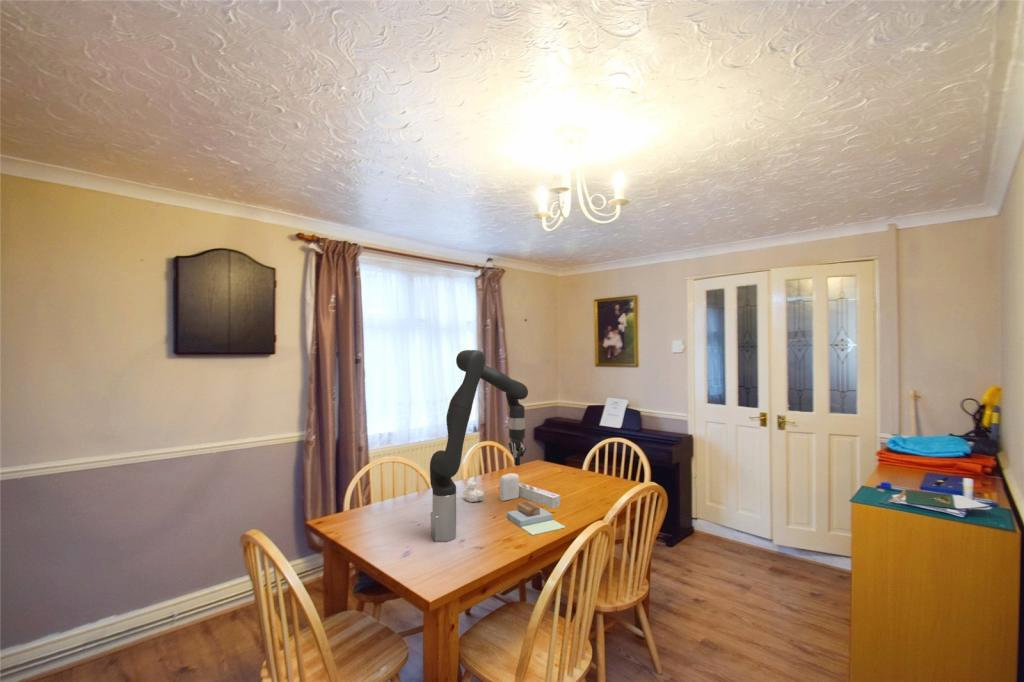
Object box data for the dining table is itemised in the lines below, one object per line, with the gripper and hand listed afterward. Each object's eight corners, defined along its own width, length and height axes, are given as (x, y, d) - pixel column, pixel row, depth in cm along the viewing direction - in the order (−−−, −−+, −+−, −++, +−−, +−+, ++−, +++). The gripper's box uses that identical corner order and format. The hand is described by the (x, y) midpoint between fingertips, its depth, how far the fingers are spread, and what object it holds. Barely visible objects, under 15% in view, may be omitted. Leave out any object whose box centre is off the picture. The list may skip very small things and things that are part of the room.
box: (560, 506, 207) (560, 494, 207) (553, 509, 204) (553, 496, 204) (520, 493, 227) (520, 482, 228) (513, 495, 224) (513, 484, 224)
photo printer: (515, 495, 222) (515, 471, 223) (520, 498, 219) (520, 473, 219) (498, 499, 217) (498, 474, 217) (502, 502, 213) (502, 476, 213)
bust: (462, 503, 217) (454, 489, 212) (469, 491, 223) (461, 476, 217) (482, 507, 211) (474, 493, 205) (489, 494, 216) (481, 479, 211)
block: (527, 517, 186) (527, 509, 186) (517, 510, 194) (517, 503, 194) (539, 514, 189) (539, 507, 189) (529, 508, 197) (529, 501, 197)
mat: (532, 535, 173) (532, 534, 173) (521, 527, 181) (521, 526, 181) (565, 527, 181) (565, 527, 181) (553, 520, 189) (553, 519, 189)
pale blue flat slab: (520, 527, 182) (520, 521, 182) (507, 517, 192) (506, 512, 192) (552, 520, 189) (552, 514, 189) (538, 511, 200) (537, 506, 200)
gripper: (503, 426, 205) (503, 463, 205) (516, 430, 194) (517, 469, 193) (517, 424, 209) (517, 461, 209) (531, 428, 197) (531, 467, 197)
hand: (517, 465), depth 201 cm, fingers closed
